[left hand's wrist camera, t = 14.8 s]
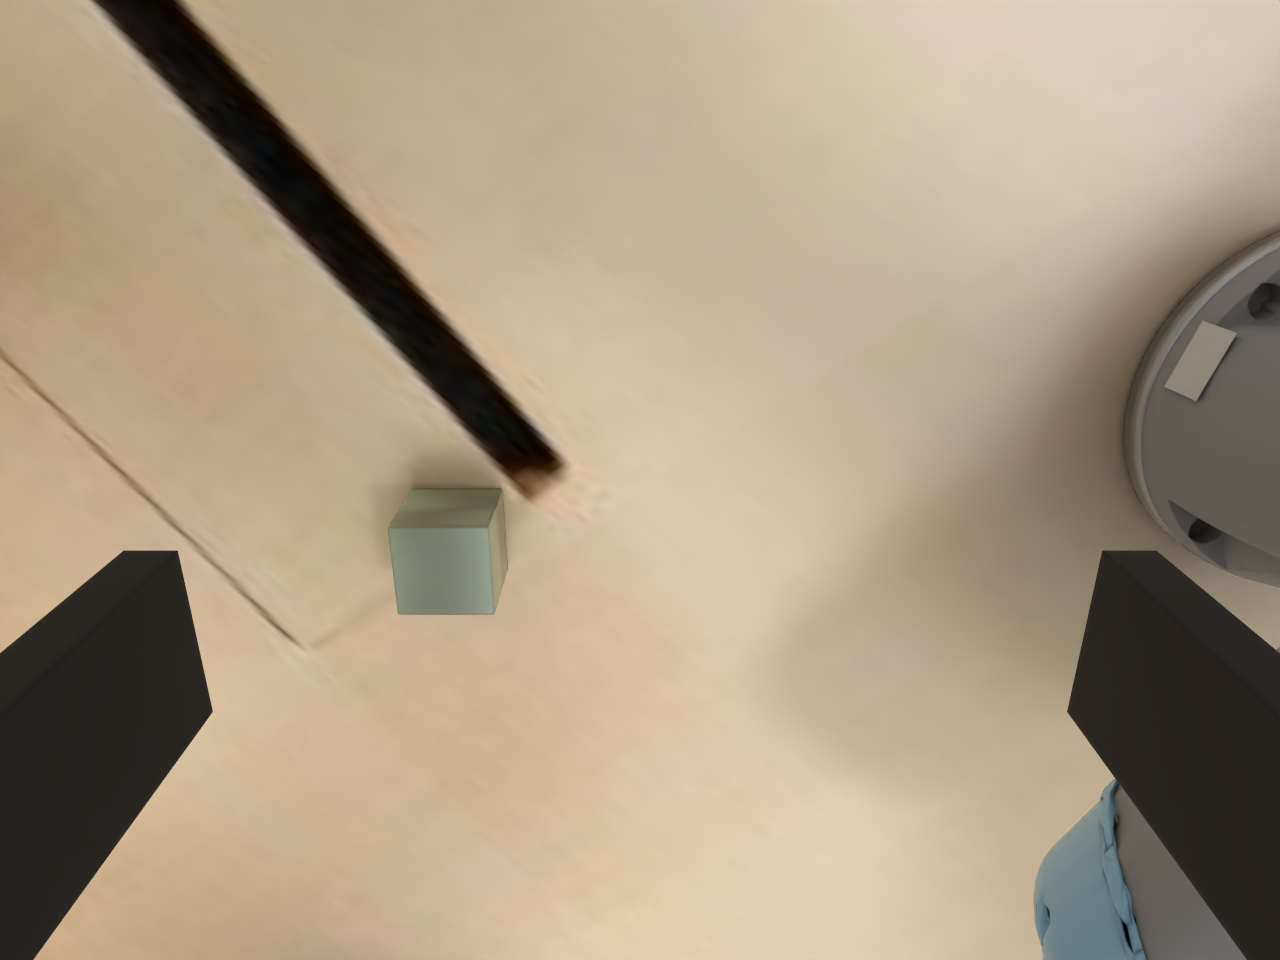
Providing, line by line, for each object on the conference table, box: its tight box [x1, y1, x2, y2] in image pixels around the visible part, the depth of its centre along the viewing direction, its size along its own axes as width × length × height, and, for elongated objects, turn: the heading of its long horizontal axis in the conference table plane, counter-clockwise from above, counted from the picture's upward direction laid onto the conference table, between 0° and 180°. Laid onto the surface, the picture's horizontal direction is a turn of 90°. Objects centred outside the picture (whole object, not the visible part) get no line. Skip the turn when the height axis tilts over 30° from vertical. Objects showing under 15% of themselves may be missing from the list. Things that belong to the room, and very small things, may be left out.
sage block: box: [388, 489, 508, 615], centre depth 38 cm, size 4×4×4 cm
